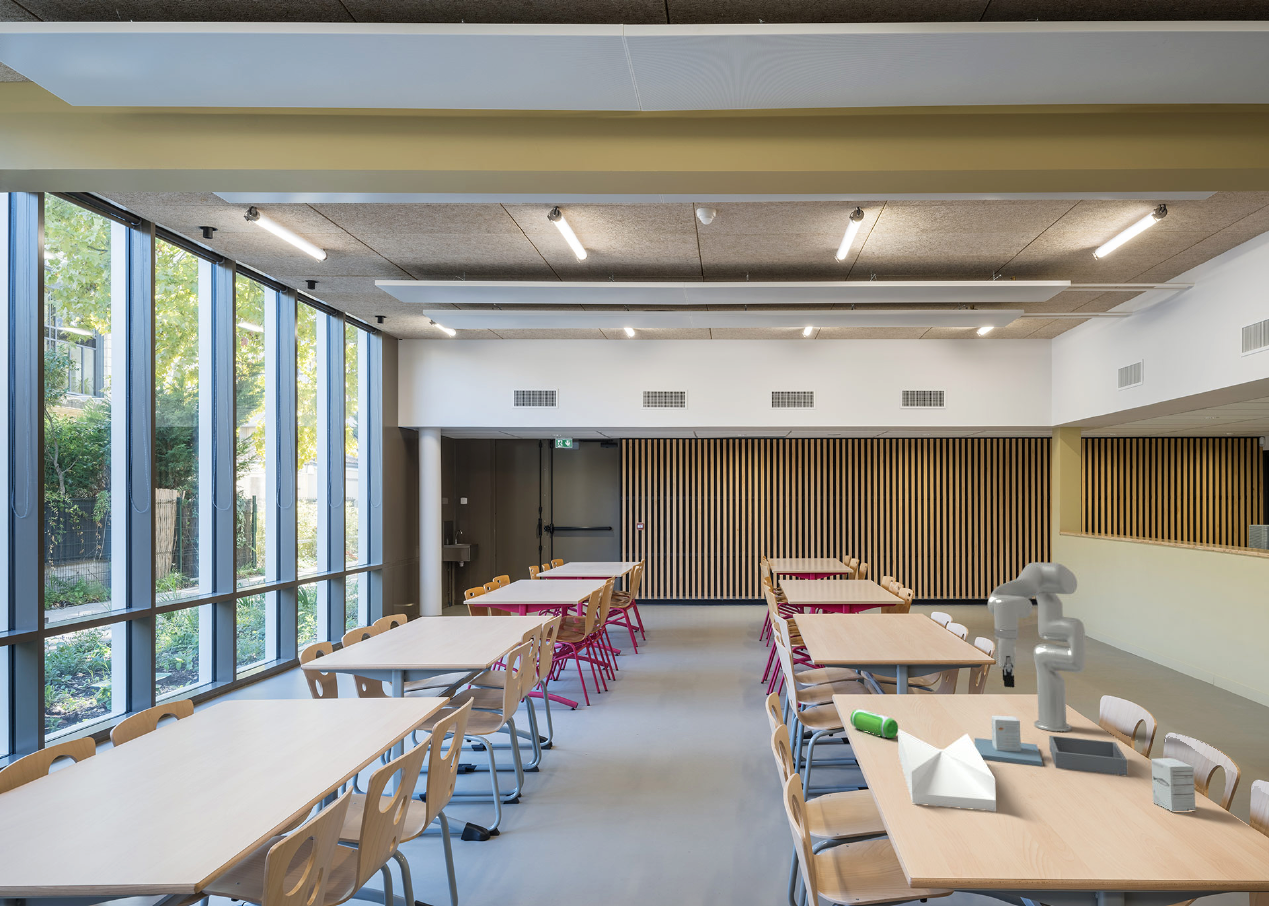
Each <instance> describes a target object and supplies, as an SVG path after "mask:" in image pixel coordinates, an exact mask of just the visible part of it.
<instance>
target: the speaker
mask: <svg viewBox="0 0 1269 906" xmlns="http://www.w3.org/2000/svg"><path fill="white" fill-rule="evenodd" d="M849 719H850V720H849V721H850V724H851V725H852V727H853V728H855V729H858V730H859V729H860V730H859V731H861V730H864V731H868V732H870V733H874V734H876V735H880V736H882V737H881V738H885V737H887V738H886V739H893V738H895V737H896V736H897V735H898V729H899V725H898V722H897V721H896V720H895V719H893V718H892V717H889V716H886V715H882V714H879V713H875V712H873V711H868V710H866V709H855V710H853V711H852V713H851V714H850V718H849ZM876 735H875V736H876Z"/></svg>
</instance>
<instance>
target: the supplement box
mask: <svg viewBox="0 0 1269 906" xmlns="http://www.w3.org/2000/svg"><path fill="white" fill-rule="evenodd" d="M1150 759H1151V778H1152V779H1151V780H1152V781H1151V783H1152V803H1153V802H1154V803H1155V804H1156V805H1157V804H1158V805H1157V806H1159V807H1161V806H1162V807H1161V808H1163V807H1164V808H1163V809H1165V808H1166V809H1165V810H1167V809H1169V810H1170V811H1189V810H1195V811H1196V793H1195V792H1196V788H1195V767H1194V766H1193V765H1190V764H1188V763H1186V762H1183V761H1181V760H1178V759H1177V758H1174V757H1167V758H1166V757H1165V758H1163V757H1162V758H1150ZM1154 803H1153V804H1154ZM1155 804H1154V805H1155ZM1169 810H1168V811H1169ZM1170 811H1169V812H1170Z"/></svg>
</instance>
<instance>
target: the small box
mask: <svg viewBox="0 0 1269 906" xmlns="http://www.w3.org/2000/svg"><path fill="white" fill-rule="evenodd" d="M991 740H992V744H993V747H994V748H995V749H996V750H997V751H1018V752H1021V743H1022V742H1021V722H1020V720H1019V719H1018V718H1017V717H1016V716H1012V715H1009V716H1008V715H991Z"/></svg>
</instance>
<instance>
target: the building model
mask: <svg viewBox="0 0 1269 906" xmlns="http://www.w3.org/2000/svg"><path fill="white" fill-rule="evenodd" d="M897 740H898V742H897V744H898V745H897V747H898V757H899V758H900V759H899V758H898V759H899V762H900V761H901V762H900V766H901V765H902V766H901V769H902V768H903V769H902V772H904V773H903V776H904V775H905V776H904V779H905V778H906V780H905V783H906V782H907V783H906V786H908V787H907V789H909V790H908V794H909V793H910V794H909V796H911V797H910V800H912V801H911V804H912V803H915V804H928V805H936V806H935V807H938V806H950V807H960V808H959V809H961V808H973V809H985V810H991V811H990V812H997V800H996V798H997V797H996V794H997V793H996V778H995V776H994V775H993V773H992V771H991V770H990V767H989V766H988V765H987V763H986V762H985V761H986V760H983V758H982V757H981V755H980V753H979V752H978V750H977V749H976V747H975V743H974V742H973V740H972V739H971V737H970V735H969V734H968V733H965V734H964V735H963V736H961V737H959V738H958V739H956V740H955V741H954V742H953V743H950V744H949V745H948V746H947V747H946V748H944V749H941V748H937V747H935V746H933V745H931V744H929V743H927V742H925V741H924V740H921V739H919V738H917V737H916V736H913V735H912V734H910V733H908V732H906V731H904V730H902V729H900V728H898V732H897ZM915 804H914V805H915ZM950 807H949V808H950ZM973 809H972V810H973Z"/></svg>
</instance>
